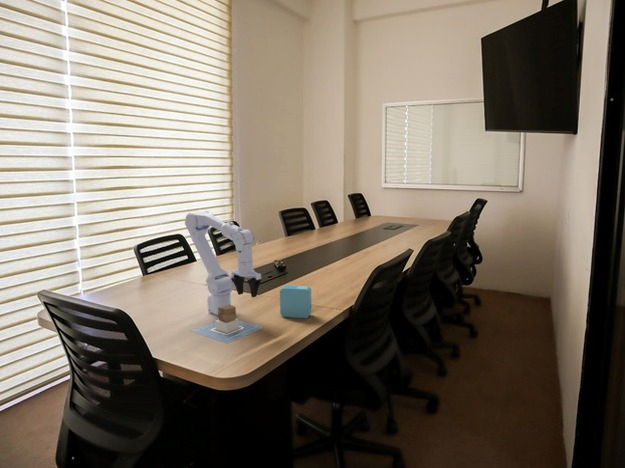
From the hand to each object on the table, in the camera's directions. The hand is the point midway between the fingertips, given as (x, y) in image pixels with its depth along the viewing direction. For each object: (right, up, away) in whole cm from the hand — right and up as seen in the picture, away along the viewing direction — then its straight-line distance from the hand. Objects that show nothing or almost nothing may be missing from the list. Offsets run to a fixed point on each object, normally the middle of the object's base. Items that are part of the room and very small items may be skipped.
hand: (247, 295), depth 174 cm
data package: (+19, -9, +7) cm, 22 cm away
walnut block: (-6, -8, -10) cm, 14 cm away
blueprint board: (-6, -12, -9) cm, 16 cm away
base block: (-6, -11, -10) cm, 16 cm away
